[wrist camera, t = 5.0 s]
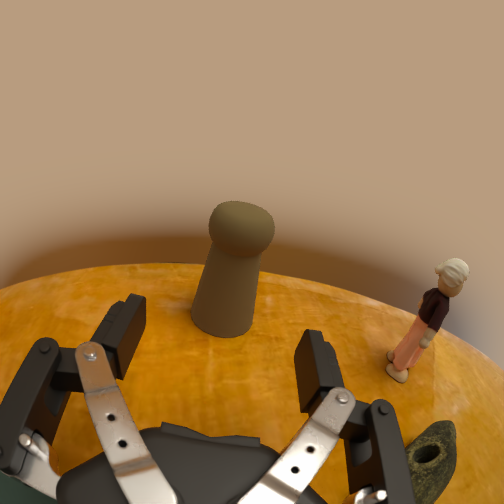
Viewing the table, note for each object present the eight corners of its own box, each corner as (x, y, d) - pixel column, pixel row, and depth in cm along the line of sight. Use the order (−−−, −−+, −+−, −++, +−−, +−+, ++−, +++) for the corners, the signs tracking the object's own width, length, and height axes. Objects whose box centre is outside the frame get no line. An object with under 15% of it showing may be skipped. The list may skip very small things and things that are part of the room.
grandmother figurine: (415, 393, 20) (492, 286, 15) (384, 385, 21) (461, 271, 15) (406, 344, 27) (461, 251, 21) (380, 336, 28) (433, 237, 22)
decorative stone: (363, 428, 16) (399, 393, 14) (432, 437, 15) (469, 405, 13) (344, 554, 7) (396, 546, 5) (432, 543, 5) (484, 524, 3)
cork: (247, 298, 29) (274, 200, 24) (257, 339, 24) (294, 228, 19) (191, 292, 28) (207, 189, 23) (189, 334, 22) (207, 214, 18)
